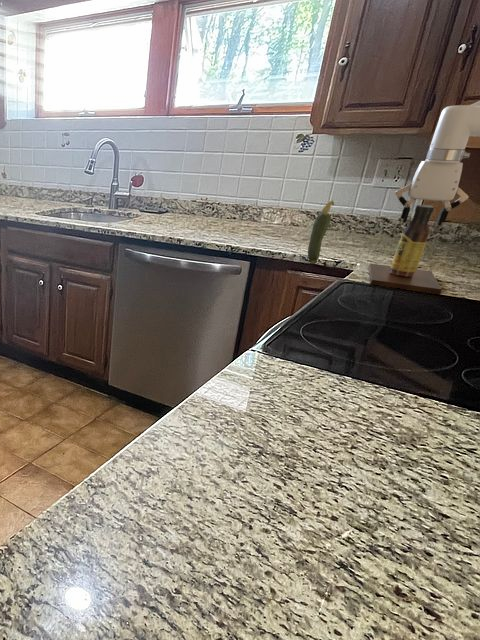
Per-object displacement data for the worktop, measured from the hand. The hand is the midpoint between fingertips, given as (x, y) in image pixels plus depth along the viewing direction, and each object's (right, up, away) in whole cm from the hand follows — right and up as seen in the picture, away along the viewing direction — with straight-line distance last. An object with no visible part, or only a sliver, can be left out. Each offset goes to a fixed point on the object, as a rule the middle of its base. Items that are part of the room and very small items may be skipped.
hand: (421, 222), depth 148 cm
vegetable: (-17, -7, +24) cm, 30 cm away
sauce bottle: (-1, -14, +7) cm, 15 cm away
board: (0, -15, +7) cm, 17 cm away
